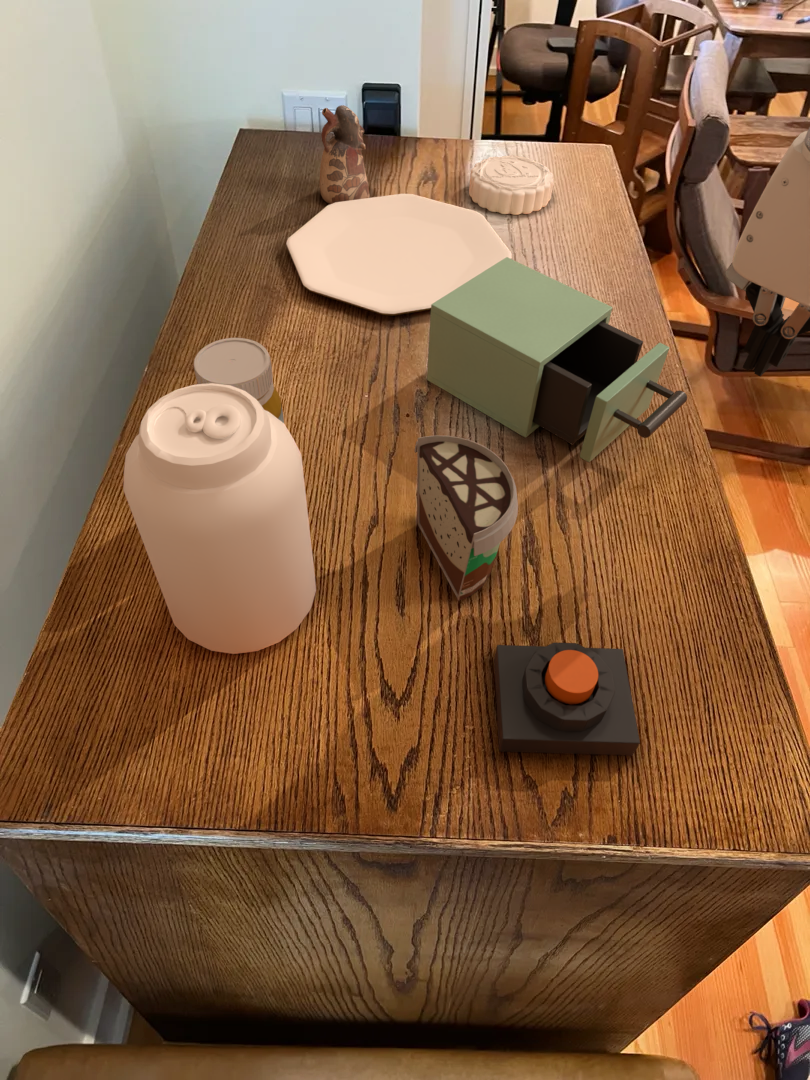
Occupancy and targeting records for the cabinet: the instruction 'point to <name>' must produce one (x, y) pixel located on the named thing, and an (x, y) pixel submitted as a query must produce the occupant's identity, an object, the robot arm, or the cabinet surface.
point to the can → (223, 517)
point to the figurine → (342, 158)
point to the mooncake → (510, 185)
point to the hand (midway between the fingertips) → (759, 364)
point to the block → (562, 704)
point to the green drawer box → (505, 338)
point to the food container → (463, 507)
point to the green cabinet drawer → (603, 389)
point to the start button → (571, 677)
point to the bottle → (240, 370)
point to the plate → (393, 252)
